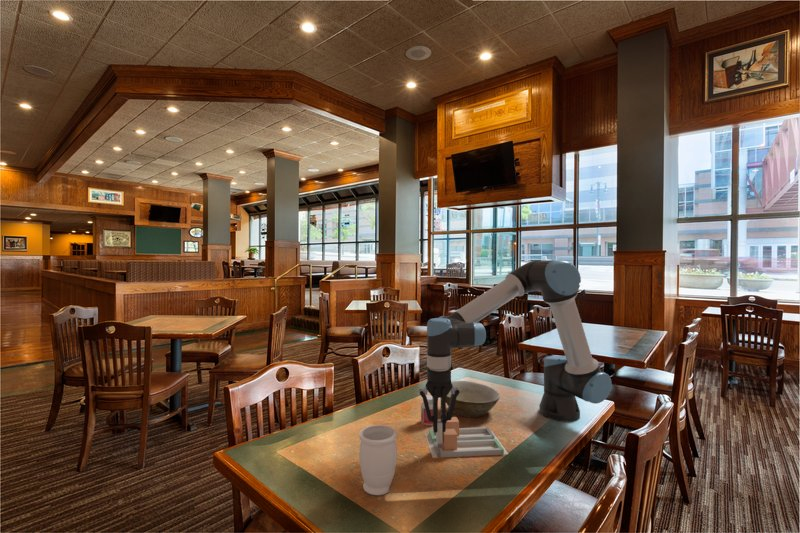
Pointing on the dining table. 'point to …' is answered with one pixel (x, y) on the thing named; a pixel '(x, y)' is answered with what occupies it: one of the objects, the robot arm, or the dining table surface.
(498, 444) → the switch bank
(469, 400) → the bowl
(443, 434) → the tab
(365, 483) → the jar
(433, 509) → the dining table surface
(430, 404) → the pill bottle
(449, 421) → the tab
